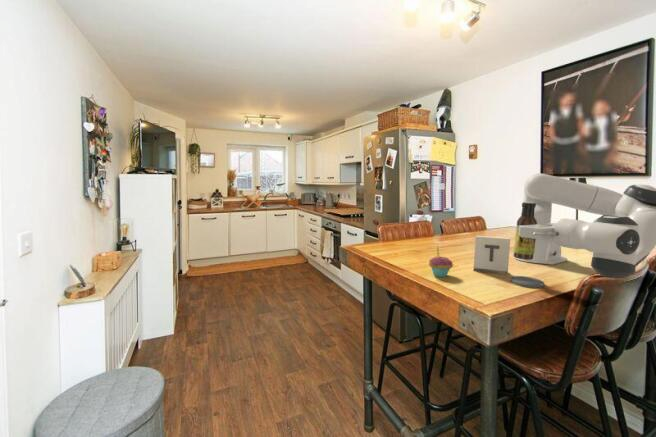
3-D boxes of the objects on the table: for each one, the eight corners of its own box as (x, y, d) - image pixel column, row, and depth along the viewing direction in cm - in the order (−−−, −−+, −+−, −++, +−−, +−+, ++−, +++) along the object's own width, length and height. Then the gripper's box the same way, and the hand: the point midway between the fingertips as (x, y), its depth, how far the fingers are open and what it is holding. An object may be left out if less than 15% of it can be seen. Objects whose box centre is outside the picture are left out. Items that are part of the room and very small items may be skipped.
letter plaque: (473, 271, 128) (475, 236, 126) (473, 268, 132) (475, 234, 130) (507, 275, 123) (510, 239, 121) (506, 272, 127) (509, 237, 125)
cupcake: (439, 279, 117) (440, 247, 115) (423, 273, 125) (424, 243, 123) (456, 276, 120) (458, 245, 119) (440, 270, 128) (442, 241, 127)
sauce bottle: (517, 260, 111) (521, 203, 108) (510, 255, 117) (514, 201, 114) (537, 260, 110) (542, 203, 107) (529, 256, 116) (533, 201, 113)
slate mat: (523, 277, 120) (523, 274, 120) (550, 285, 111) (550, 283, 110) (504, 280, 116) (504, 277, 116) (530, 289, 107) (531, 286, 107)
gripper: (544, 245, 96) (503, 238, 109) (586, 240, 104) (544, 234, 116) (545, 224, 95) (504, 219, 108) (588, 221, 103) (545, 217, 116)
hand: (525, 227), depth 112 cm, fingers closed on sauce bottle, 6 cm apart
